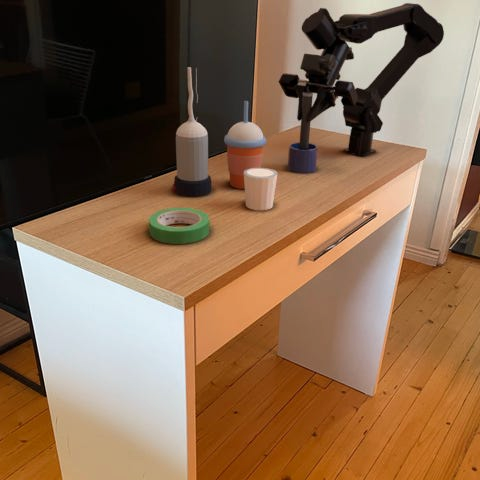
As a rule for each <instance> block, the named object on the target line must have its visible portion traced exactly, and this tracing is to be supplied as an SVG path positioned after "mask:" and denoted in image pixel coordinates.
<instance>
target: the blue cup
mask: <svg viewBox="0 0 480 480" xmlns="http://www.w3.org/2000/svg"><path fill="white" fill-rule="evenodd" d="M299 144H300V141H299V142H293V143H290V144H289V146H288V157H287V170H288V171H290V172H292V173H296V174H297V173H298V174H310V173H314V172H316V169H317V159H318V148H319V147H318V145H317V144H315V143H311V142H309V147H308V149H301V148H299Z"/></svg>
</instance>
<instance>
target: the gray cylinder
mask: <svg viewBox="0 0 480 480" xmlns="http://www.w3.org/2000/svg"><path fill="white" fill-rule="evenodd" d="M313 97H314V93H312V92H303V102H302V116H301V120H300V129H299V130H300V131H299V142H300V144H299V148H301V149H308V147H309V143H310V135H311V122H307V117H308V114H309V112H310V110H311V108H312V106H313Z"/></svg>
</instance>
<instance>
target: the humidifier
mask: <svg viewBox="0 0 480 480" xmlns="http://www.w3.org/2000/svg"><path fill="white" fill-rule="evenodd" d="M186 69H187V91H188V100H187V111H188V119H187V121H185V122H184V123H182V124H181V125H180V126H178V128H177V130H176V132H175V154H176V155H175V156H176V175H175V176H174V181H173V182H174V183H173V184H172V190H173V192H174V193H175V194H176V195H178V196H182V197H187V198H198V197H199V198H200V197H205V196H207V195H210V194H211V193H212V176H210V175H209V135H208V131H207V128H206V127H204V126H203V125H202V124H201V123H199V122H198V121H197V120H198V118H196V119H195V117H194V111H193V101H194V91H193V79H192V67H190V66H188V67H187V68H186ZM197 73H198V72H197V67H196V68H195V88H197V87H198V85H197V84H198V81H197V78H198V77H197V75H198V74H197ZM195 92H196V93H195V94H196V102H198V100H199V95H198V92H197V90H195Z"/></svg>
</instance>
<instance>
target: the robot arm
mask: <svg viewBox="0 0 480 480" xmlns="http://www.w3.org/2000/svg"><path fill="white" fill-rule="evenodd" d="M401 26H403V30H404V32H405V33H406V34H405V37H404V42H403V46H402V47H400V49H399V51H398V52H396V53H395V55H394V56H393V58H392V59H391V60H390V61H389V62H388V63H387V65H386V66H384V68H383V69H382V70H381V71H380V73H379V74H378V75H377V76H376V77H375V78H374V79H373V80H372V82H371V83H369V85H367V87H366V88H362V87H361V88H360V87H356V86H355V84H354V82H353V81H349V80H348V81H347V80H340V79H341V74H340V72H341V71H342V68H343V65H344V64H345V61H350V60H351V61H352V60H354V59H355V55H354V52H353V48H352V46H349V44H348V43H352V44H363V43H365V42H366V41H369V40H371V39H372V38H373V37H374V36H375V34H377V33H379V32H382V31H386V30H389V29H392V28H397V27H401ZM301 31H302V34H304V36H305V37H306V38H307V40H308V41H309V42H310V44H311V45H312V46H313V47H314V48H315V49H316V50H318V51H320V50H322V51H321V54H320V55H319V54H312V53H304V54H303V56H302V60H301V63H300V67H299V69H300V70H303V71H304V72H305V73H304V76H305V79H300V76H299V75H298V74H297V73H296V74H295V73H287V72H285V73H282V74H281V75H280V77H279V79H278V84H279V85H280V87H281V88H280V89H282V92H283V94H284V95H285V96H286V97H288V98H293V99H298V105H297V114H296V115H297V116H296V119H297V121H299V122H301V116H302V102H303V92H312V93H313V94H316V98H315V101H314V102H313V103H312V108H311V110H310V112H309V114H308V117H307V122H310V123H311V122H312V121H314V120H315V119H316V118H317V117H318V116H320V115H322V113H324V112H325V111H327V110H329V109H330V108H335V107H336V102H337V99H339V98H341V99H340V102H341V104H342V106H343V107H342V116H343V118H344V124H345V125H344V126H346V127H349V128H350V133H349V140H348V147H347V148H344V149H343V152H344V153H348V154H351V155H355V156H360V157H366V156H369V155H371V154H374V153H376V152H377V150H376V149H373V148H372V146H373V140H374V134H375V133H377V132H380V131H381V130H382V127H383V125H384V122H383V120H382V119H381V117H380V116H379V113H380V111H381V107H382V102H383V100H384V99H385V98H386V96H387V95H388V94H389V93H390V92H391V90H392V89H393V88H394V87H395V86H396V85H397V84H398V82H399V81H401V79H402V78H403V76H405V74H406V73H407V72H408V71H409V69H411V67H412V66H413V65H414V64H415V62H417V61H418V59H420V58H422V57H424V56H426V55H428V54H430V53H432V52H433V51H434V50H435V49H437V48H438V47H439V46H440V44H441V43H442V41H443V40H444V36H445V31H444V26H443V25H442V23H440V22H438V20H437V19H436V18H435V17H434V16H432V15H431V14H430V13H429V12H427V11H426V10H425V9H424V8H423V6H422V5H421V4H419V3H411V2H405V3H403V4H402V5H398V6H394V7H391V8H386V9H384V10H380V11H375V12H371V13H369V14H368V13H367V14H365V13H362V14H361V13H345V14H342V15H341V16H340V17H339V18H338V20H335V21H334V19H333V18H332V16H331V14H330V12H329V10H328V9H327V8H326V7H319V9H318V11H315V12H314V13H312V14H310V15H309V16H308V17H306V18H305V19H304V21H303V22H302V25H301Z"/></svg>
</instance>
